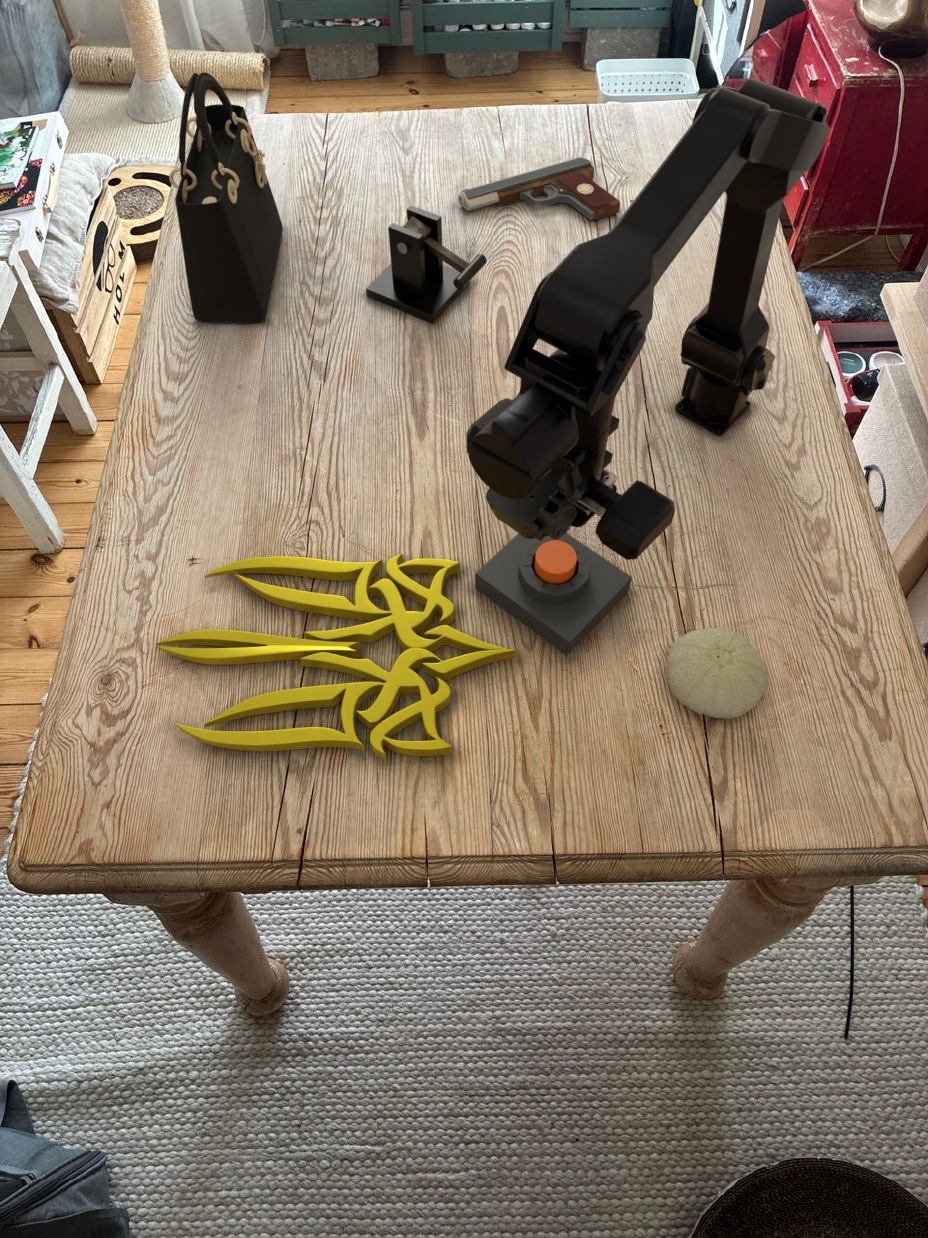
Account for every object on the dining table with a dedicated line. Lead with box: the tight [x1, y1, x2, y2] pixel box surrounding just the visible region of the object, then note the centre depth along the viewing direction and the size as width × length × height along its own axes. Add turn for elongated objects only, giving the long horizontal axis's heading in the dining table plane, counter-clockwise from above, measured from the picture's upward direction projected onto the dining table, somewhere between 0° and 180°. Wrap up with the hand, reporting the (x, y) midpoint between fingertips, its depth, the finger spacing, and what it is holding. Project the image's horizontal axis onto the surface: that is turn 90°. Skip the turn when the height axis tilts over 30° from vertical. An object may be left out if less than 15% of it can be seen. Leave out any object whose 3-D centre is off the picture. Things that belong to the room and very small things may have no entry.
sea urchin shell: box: [665, 626, 769, 720], centre depth 88 cm, size 9×8×8 cm
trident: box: [155, 553, 517, 762], centre depth 90 cm, size 22×2×35 cm
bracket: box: [365, 205, 471, 324], centre depth 115 cm, size 10×9×10 cm
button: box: [535, 540, 577, 584], centre depth 91 cm, size 4×4×2 cm
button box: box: [474, 532, 633, 657], centre depth 93 cm, size 12×10×4 cm
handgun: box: [458, 157, 621, 221], centre depth 127 cm, size 2×20×12 cm
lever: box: [402, 217, 488, 290], centre depth 112 cm, size 10×6×2 cm, turn 59°
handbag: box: [168, 72, 284, 324], centre depth 110 cm, size 21×9×25 cm, turn 179°
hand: (559, 534), depth 87 cm, fingers closed
